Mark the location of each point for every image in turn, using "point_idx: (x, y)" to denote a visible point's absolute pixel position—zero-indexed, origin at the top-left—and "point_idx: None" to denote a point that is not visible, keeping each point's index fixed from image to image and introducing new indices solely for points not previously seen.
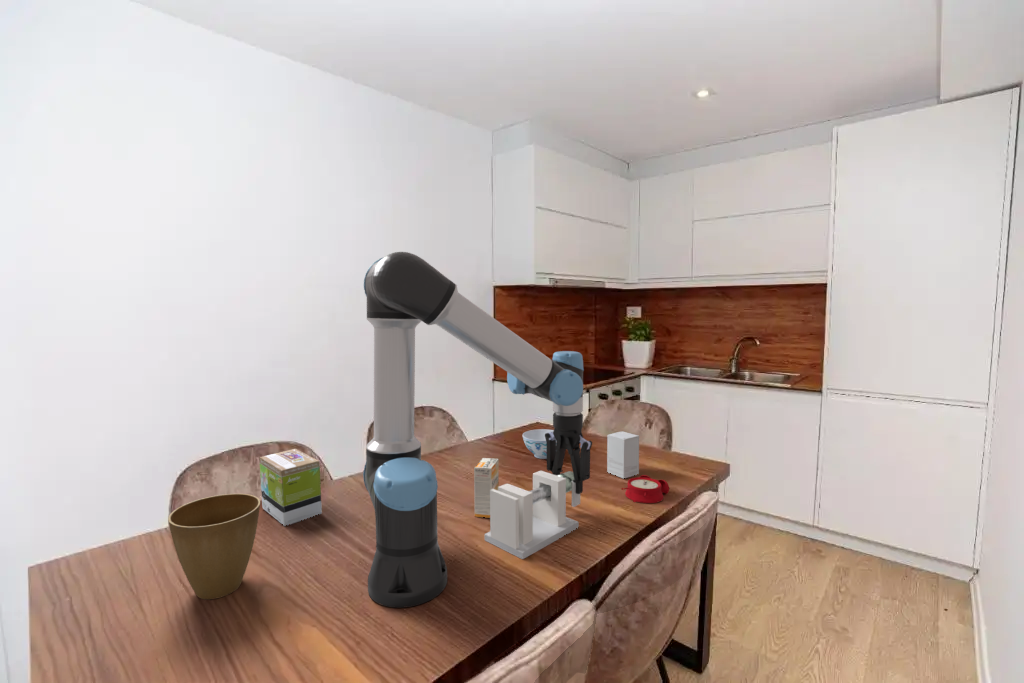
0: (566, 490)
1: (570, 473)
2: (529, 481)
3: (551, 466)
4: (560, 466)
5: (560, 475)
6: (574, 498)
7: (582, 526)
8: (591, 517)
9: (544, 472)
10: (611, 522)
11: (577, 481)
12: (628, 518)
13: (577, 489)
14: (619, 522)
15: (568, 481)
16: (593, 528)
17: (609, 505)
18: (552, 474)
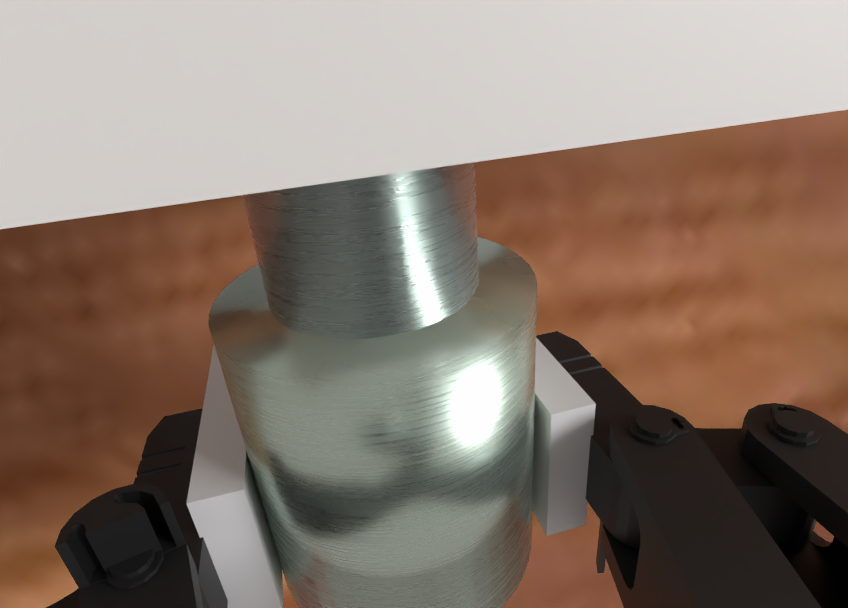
0: (225, 302)
1: (390, 603)
2: (836, 390)
3: (781, 496)
4: (643, 604)
5: (438, 425)
6: (214, 351)
7: (105, 239)
8: (205, 391)
9: (732, 59)
10: (46, 454)
11: (87, 546)
12: (43, 569)
13: (178, 451)
14: (15, 496)
15: (250, 435)
16: (19, 287)
17: (282, 570)
18: (423, 144)
